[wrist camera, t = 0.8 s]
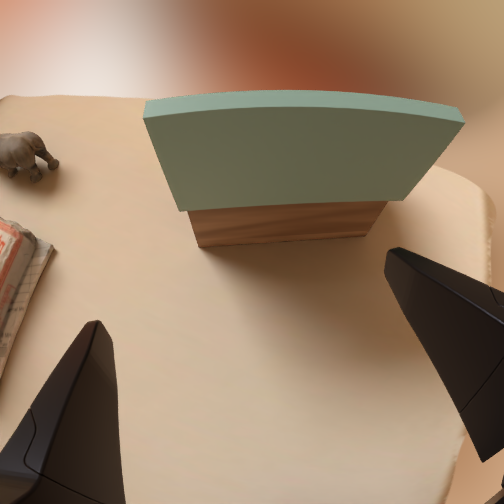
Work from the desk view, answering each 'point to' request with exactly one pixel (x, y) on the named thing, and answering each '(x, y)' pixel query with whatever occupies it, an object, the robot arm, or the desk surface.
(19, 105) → the desk surface
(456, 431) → the desk surface
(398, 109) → the lid
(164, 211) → the desk surface
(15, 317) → the packaged product
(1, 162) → the rhino figurine
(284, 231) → the walnut box
